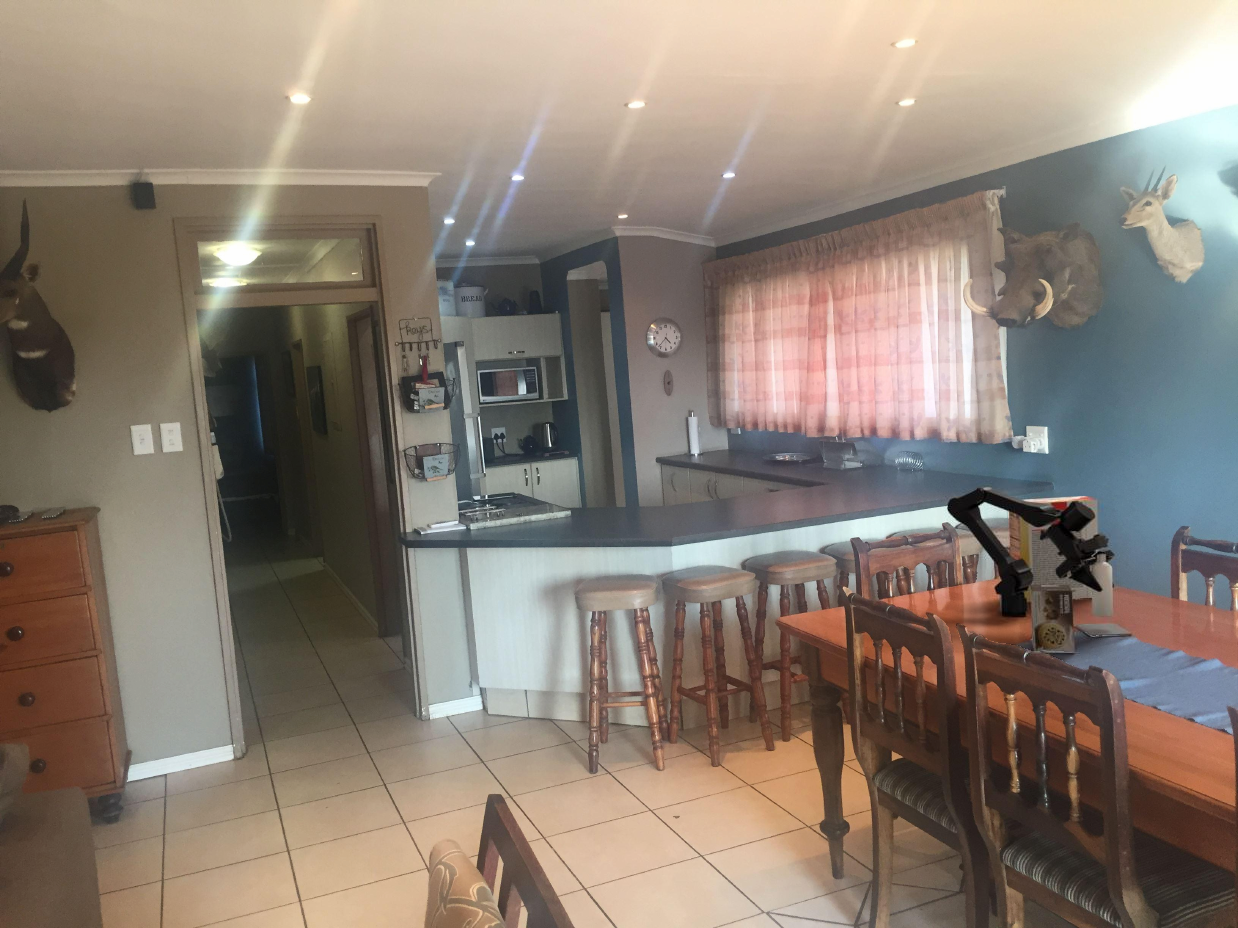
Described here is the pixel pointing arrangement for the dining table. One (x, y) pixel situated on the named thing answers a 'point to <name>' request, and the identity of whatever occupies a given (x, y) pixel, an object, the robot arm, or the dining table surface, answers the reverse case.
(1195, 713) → the dining table surface
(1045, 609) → the cookie box
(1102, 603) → the white bottle
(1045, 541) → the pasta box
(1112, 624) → the coaster
